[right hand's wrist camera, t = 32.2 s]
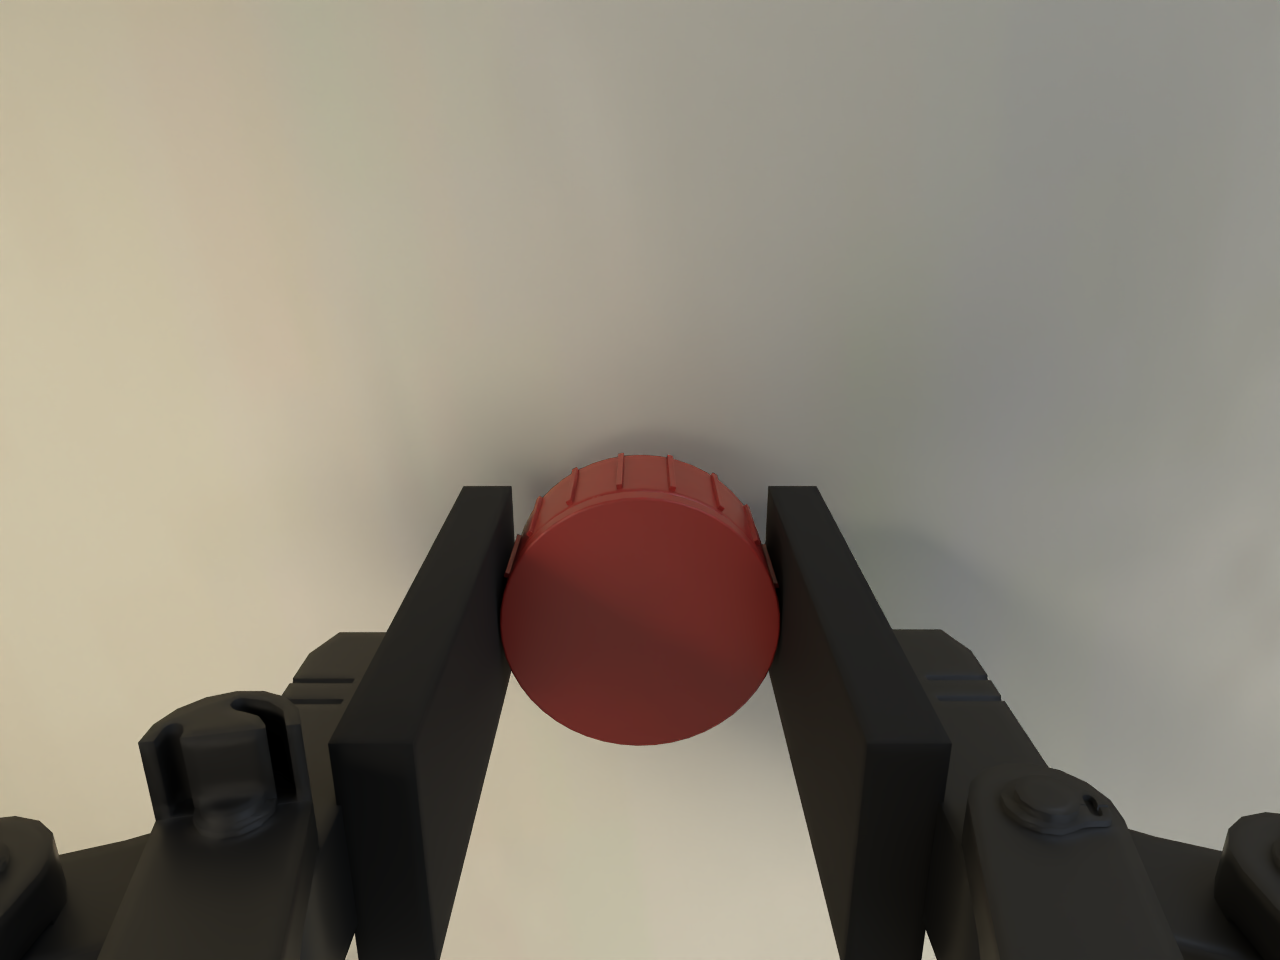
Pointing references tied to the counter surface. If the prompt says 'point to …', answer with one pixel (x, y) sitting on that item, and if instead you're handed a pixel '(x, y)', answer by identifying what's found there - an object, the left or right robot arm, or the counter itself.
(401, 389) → the counter surface
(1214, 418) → the counter surface
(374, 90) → the counter surface
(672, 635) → the cap
